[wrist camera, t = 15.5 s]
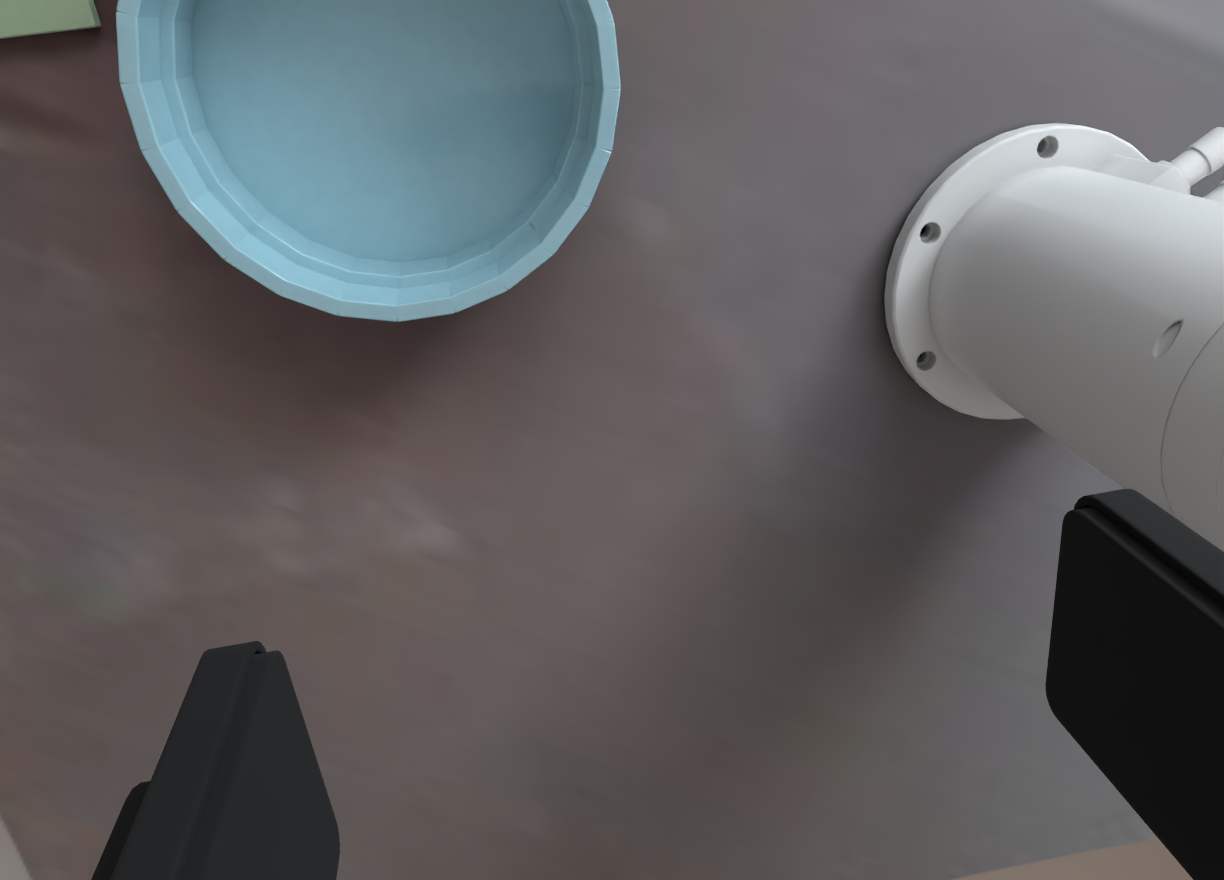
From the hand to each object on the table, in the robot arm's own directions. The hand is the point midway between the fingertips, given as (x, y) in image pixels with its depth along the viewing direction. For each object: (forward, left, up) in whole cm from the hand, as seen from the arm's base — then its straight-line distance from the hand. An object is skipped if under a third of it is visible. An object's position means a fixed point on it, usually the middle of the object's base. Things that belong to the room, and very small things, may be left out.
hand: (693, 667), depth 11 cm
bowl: (+1, -7, -28) cm, 29 cm away
